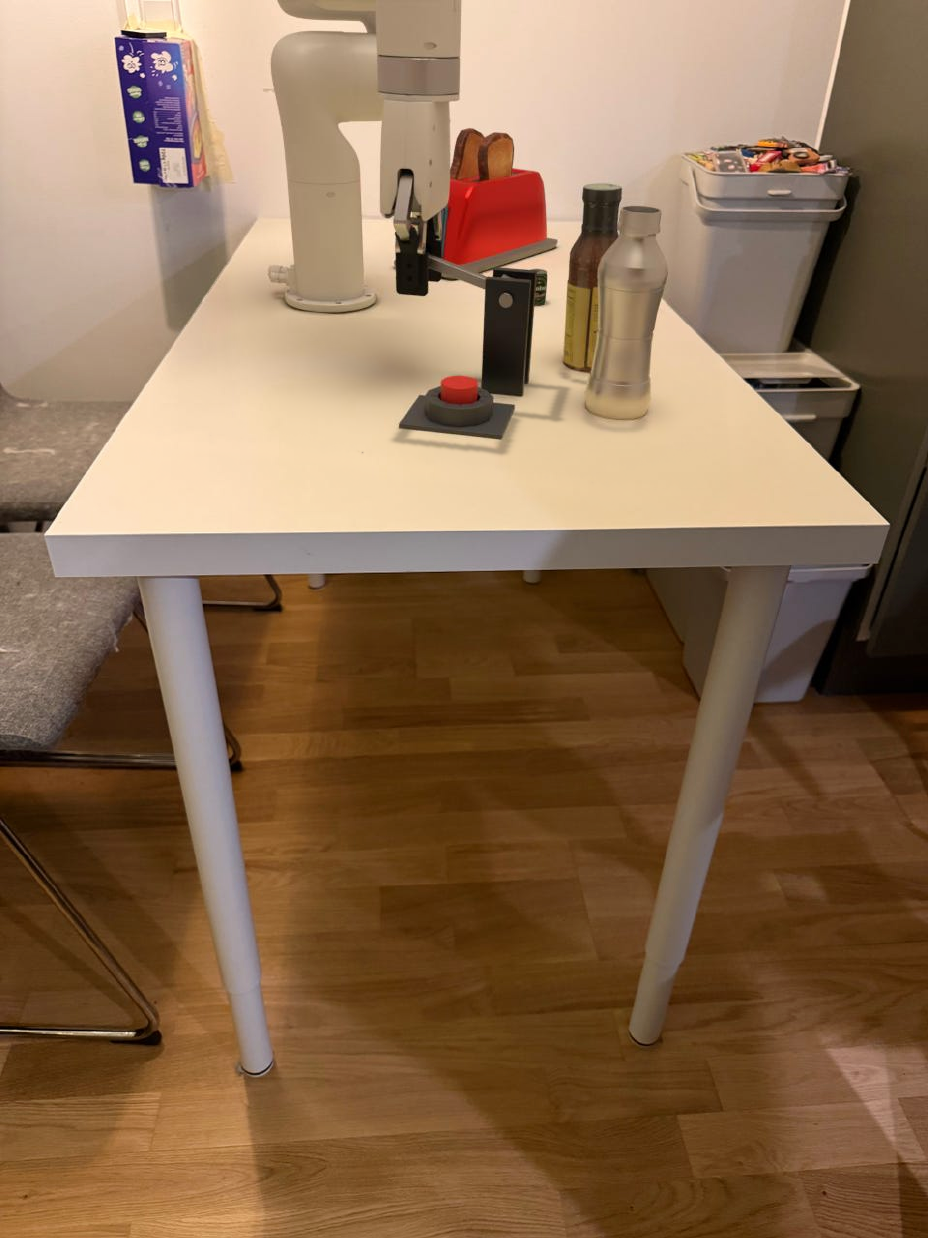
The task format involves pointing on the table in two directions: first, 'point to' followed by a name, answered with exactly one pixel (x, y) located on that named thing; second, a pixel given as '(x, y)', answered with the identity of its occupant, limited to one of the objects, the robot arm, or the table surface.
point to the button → (459, 390)
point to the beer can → (540, 286)
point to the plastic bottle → (627, 317)
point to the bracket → (508, 330)
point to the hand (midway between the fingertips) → (419, 285)
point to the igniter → (459, 415)
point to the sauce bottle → (588, 272)
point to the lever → (457, 270)
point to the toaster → (491, 205)
